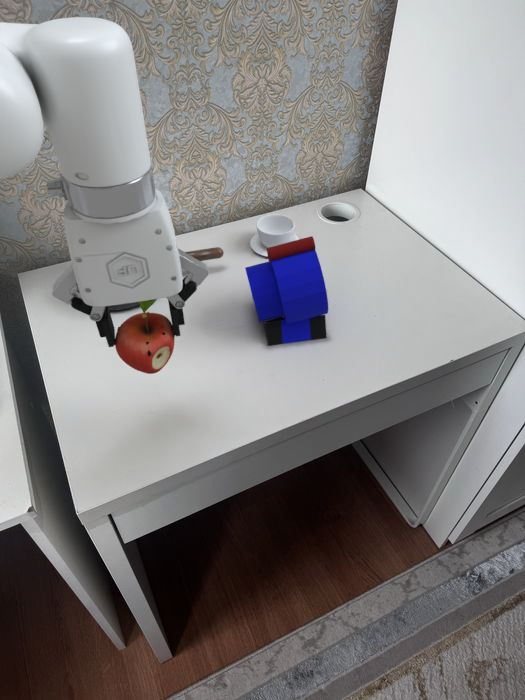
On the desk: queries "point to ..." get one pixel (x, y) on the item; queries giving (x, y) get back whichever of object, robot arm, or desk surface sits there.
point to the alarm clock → (290, 292)
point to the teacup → (272, 232)
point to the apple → (145, 340)
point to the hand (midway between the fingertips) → (144, 332)
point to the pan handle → (206, 254)
